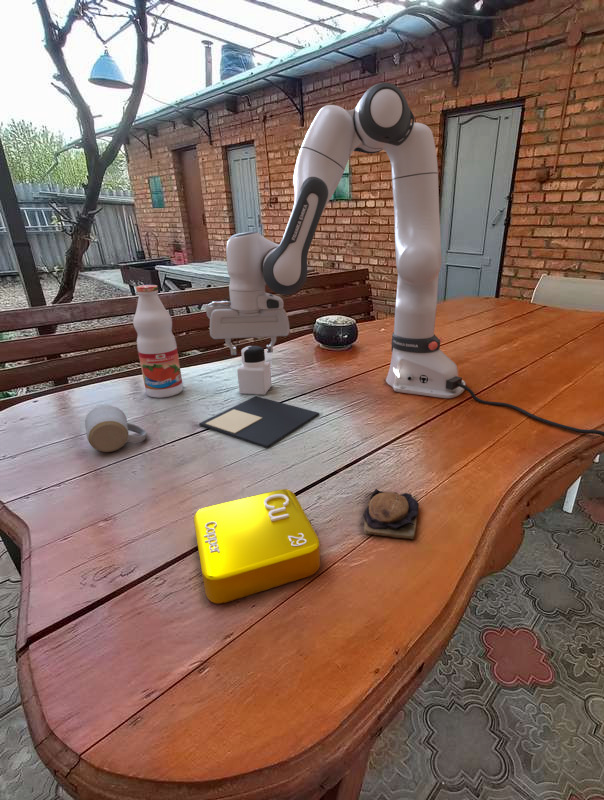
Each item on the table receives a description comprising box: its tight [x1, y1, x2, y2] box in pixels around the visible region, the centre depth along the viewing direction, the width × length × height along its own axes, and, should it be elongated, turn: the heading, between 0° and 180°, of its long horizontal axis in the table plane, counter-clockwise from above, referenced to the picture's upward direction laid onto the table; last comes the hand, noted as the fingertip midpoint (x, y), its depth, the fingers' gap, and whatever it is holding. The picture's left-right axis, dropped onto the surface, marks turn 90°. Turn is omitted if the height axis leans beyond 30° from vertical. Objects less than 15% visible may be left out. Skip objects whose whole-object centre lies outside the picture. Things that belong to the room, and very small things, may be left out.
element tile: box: [193, 488, 321, 604], centre depth 59 cm, size 15×15×5 cm
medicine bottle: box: [236, 345, 273, 396], centre depth 114 cm, size 7×7×12 cm
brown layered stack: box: [362, 488, 419, 540], centre depth 67 cm, size 11×8×4 cm
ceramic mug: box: [84, 404, 147, 453], centre depth 87 cm, size 11×8×8 cm
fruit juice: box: [132, 284, 184, 399], centre depth 110 cm, size 9×9×28 cm
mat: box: [198, 395, 320, 449], centre depth 99 cm, size 20×19×1 cm
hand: (252, 353), depth 113 cm, fingers open, 8 cm apart
